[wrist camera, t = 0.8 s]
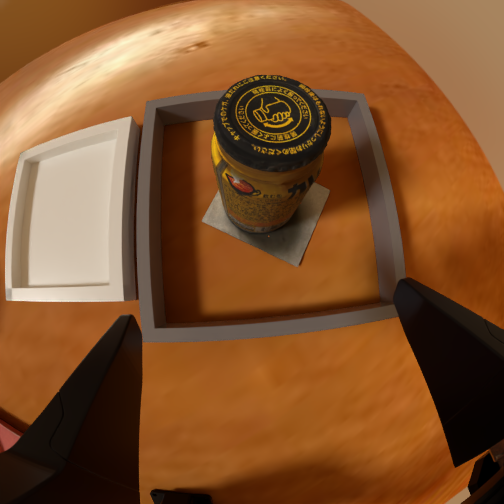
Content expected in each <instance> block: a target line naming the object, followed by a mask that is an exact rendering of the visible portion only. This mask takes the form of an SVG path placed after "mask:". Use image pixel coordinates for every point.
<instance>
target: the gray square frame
mask: <svg viewBox="0 0 504 504" xmlns="http://www.w3.org/2000/svg"><path fill="white" fill-rule="evenodd" d="M311 90H312V91H313V92H315V93H316V94H317V95H318V96H319V98H320V99H322V100H323V102H324V103H325V105H326V107H327V109H328V112H329V115H330V116H332V117H347V118H348V121H349V124H350V128H351V131H352V135H353V138H354V142H355V146H356V150H357V154H358V158H359V162H360V167H361V171H362V175H363V180H364V185H365V190H366V195H367V200H368V206H369V211H370V217H371V223H372V230H373V237H374V244H375V252H376V260H377V269H378V280H379V292H380V302H379V303H374V304H368V305H361V306H355V307H348V308H342V309H335V310H327V311H320V312H312V313H303V314H295V315H285V316H276V317H265V318H254V319H241V320H227V321H211V322H191V323H166V315H165V304H164V291H163V275H162V253H161V171H162V150H163V135H164V125H170V124H177V123H184V122H191V121H199V120H208V119H213V118H214V112H215V108H216V104H217V103H218V101H219V99H220V98H221V97H222V96H223V95H224V93H226V92H227V90H223V91H212V92H203V93H195V94H187V95H181V96H174V97H168V98H163V99H157V100H152V101H147V102H146V108H145V115H144V123H143V131H142V140H141V149H140V161H139V174H138V192H137V273H138V291H139V305H140V316H141V326H142V335H143V342H198V341H220V340H236V339H249V338H261V337H271V336H281V335H290V334H298V333H306V332H314V331H321V330H328V329H334V328H340V327H347V326H352V325H358V324H364V323H369V322H374V321H379V320H384V319H389V318H394V317H399V316H398V313H397V311H396V308H395V306H394V303H393V294H394V292H395V289H396V286H397V283H398V281H399V280H400V279H402V278H406V272H405V263H404V254H403V246H402V239H401V233H400V226H399V220H398V215H397V209H396V204H395V199H394V195H393V190H392V185H391V181H390V177H389V173H388V169H387V165H386V161H385V157H384V154H383V150H382V147H381V143H380V140H379V136H378V133H377V130H376V127H375V124H374V121H373V118H372V115H371V112H370V109H369V106H368V104H367V101H366V98H365V96H364V94H360V93H352V92H343V91H332V90H319V89H311Z"/></svg>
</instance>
